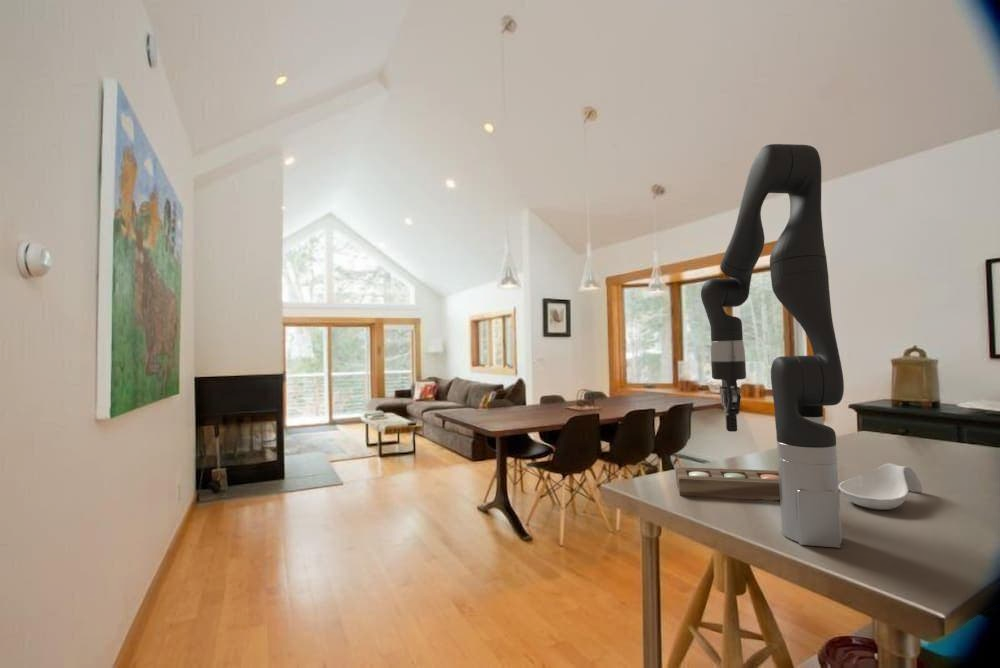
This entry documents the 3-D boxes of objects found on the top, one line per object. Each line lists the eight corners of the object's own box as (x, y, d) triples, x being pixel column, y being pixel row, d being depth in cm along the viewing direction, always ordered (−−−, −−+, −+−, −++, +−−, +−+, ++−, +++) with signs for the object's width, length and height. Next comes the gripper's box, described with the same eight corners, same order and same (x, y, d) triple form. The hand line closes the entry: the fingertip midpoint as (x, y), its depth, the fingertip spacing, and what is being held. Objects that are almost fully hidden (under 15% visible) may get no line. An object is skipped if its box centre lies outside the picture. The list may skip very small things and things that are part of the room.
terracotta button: (786, 492, 107) (785, 480, 108) (763, 491, 109) (763, 479, 109) (780, 486, 112) (779, 474, 112) (758, 485, 113) (758, 473, 113)
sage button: (747, 490, 110) (747, 478, 110) (726, 489, 111) (725, 477, 111) (743, 484, 114) (742, 473, 114) (723, 483, 115) (722, 472, 116)
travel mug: (799, 483, 117) (794, 403, 117) (796, 476, 123) (792, 400, 123) (829, 486, 114) (824, 404, 115) (825, 479, 120) (820, 401, 120)
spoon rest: (894, 520, 92) (892, 484, 93) (828, 504, 103) (826, 471, 103) (941, 497, 104) (939, 465, 104) (878, 485, 114) (876, 455, 114)
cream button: (710, 488, 112) (710, 476, 112) (690, 487, 113) (689, 476, 113) (708, 483, 116) (707, 471, 117) (688, 482, 118) (687, 471, 118)
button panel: (804, 502, 104) (803, 484, 104) (679, 495, 111) (679, 478, 111) (789, 487, 114) (788, 471, 114) (676, 482, 122) (675, 467, 122)
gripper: (751, 359, 106) (755, 436, 105) (739, 358, 119) (742, 426, 118) (715, 360, 108) (719, 435, 108) (707, 359, 121) (710, 426, 120)
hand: (731, 430), depth 113 cm, fingers closed
